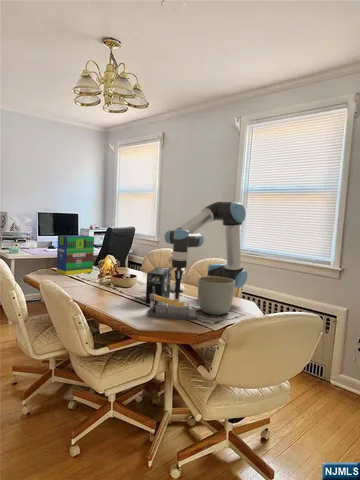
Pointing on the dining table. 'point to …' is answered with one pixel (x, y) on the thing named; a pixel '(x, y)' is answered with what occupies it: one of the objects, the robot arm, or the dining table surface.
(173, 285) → the flower in vase
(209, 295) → the planter
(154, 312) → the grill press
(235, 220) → the robot arm
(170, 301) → the tan wooden bar
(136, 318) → the dining table surface
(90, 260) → the box
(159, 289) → the box
